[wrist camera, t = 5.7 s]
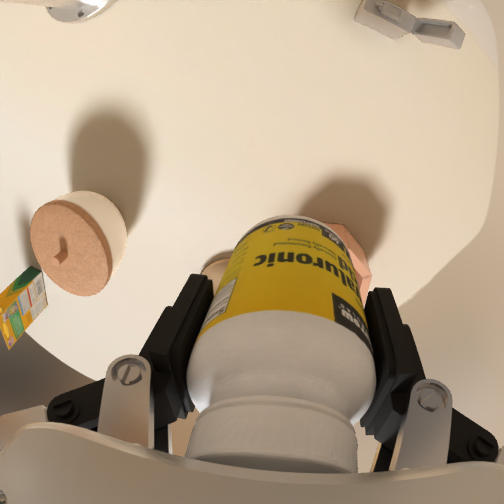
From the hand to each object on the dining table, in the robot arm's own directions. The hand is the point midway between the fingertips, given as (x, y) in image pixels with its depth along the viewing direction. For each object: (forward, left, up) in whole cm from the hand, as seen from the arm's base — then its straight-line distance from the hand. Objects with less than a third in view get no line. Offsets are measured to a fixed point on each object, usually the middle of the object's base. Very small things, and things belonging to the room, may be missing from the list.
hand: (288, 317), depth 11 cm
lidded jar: (+6, -22, -20) cm, 30 cm away
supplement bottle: (0, 0, -4) cm, 4 cm away
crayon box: (+18, -39, -20) cm, 47 cm away
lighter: (-15, +8, -20) cm, 26 cm away
